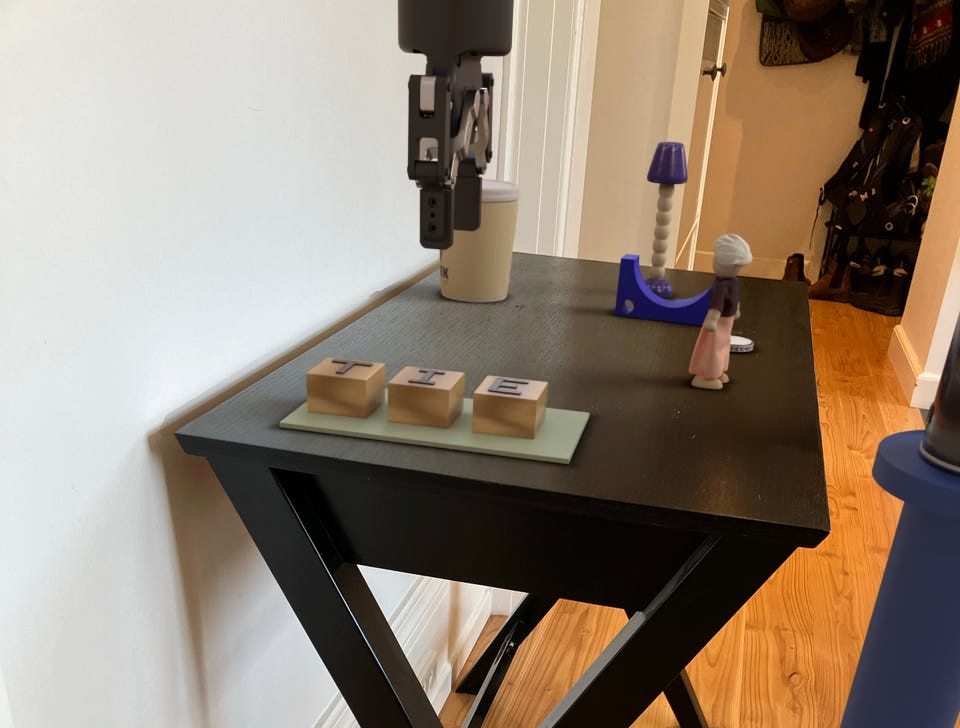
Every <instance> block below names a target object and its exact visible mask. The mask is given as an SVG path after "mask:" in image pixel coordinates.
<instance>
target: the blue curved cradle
mask: <svg viewBox="0 0 960 728" xmlns="http://www.w3.org/2000/svg"><path fill="white" fill-rule="evenodd" d="M640 256H641V255H640V254H631V253H625V254H624V255H623V256H622V257H620V261H619V262H620V263H619V271H618V280H617V289H616V297H615V306H614V307H615V308H614V315H615V316H620V317H630V318H638V319H645V320H653V321H654V320H655V321H661V322H662V321H663V322H670V323H678V324H685V325H695V326H701V327H702V326H703V323H704V321H705V318H706V316H707V314H708V309H709V301H710V293H711V289H712V286H713V285H714V283H715V282H716V280H717V278H718V276H717V275H716V274H715V278H714V280H713V283H712V285H711V286H710V287H709V288H707V289H706V290H704V291H703V292H701V293H700V294H698V295H696V296H693V297H690V298H689V297H688V298H684V299H683V298H682V299H678V298H676V299H675V300H674V301H671V300H667V299H666V298H660V297H659V296H657V295H656V294H654V293H653V292H652V291H651V290H650V289H649V288H648V286H647V285H646V283H645V282H644V280H645V279H644V278H643V275H642V272H641V266H640ZM626 301H630V302H631V303H632V306H633V308H631V307H629V306H628V305H627V304H626V303H627V302H626Z"/></svg>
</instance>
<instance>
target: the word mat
mask: <svg viewBox="0 0 960 728" xmlns="http://www.w3.org/2000/svg"><path fill="white" fill-rule="evenodd" d="M472 415H473V398H468V397H464V408H463V411H462V412H461V413H460V415H459V416H458V417H457V418H456V420H455V421H454V422H453V423H452V425H451V426H450V427H449V428H448V429H446V428H438V427H430V426H422V425H414V424H406V423H398V422H390V421H388V388H385V401H384V402H383V403H382V404H381V405H380V406H379V407H378V408H377V409H376V410H375V411H374V412H372V413H371V414H370V415H369V416H368V417H367V418H358V417H350V416H342V415H334V414H326V413H318V412H310V411H308V408H307V400H306V401H305V402H303V403H302V404H301V405H299V406H298V407H297V408H296V409H294V410H293V411H292V412H291V413H290V414H288V415H287V416H286V417H284V418H283V419H282V420H280V421H279V428H284V429H291V430H297V431H298V430H299V431H307V432H314V433H323V434H324V433H325V434H330V435H336V436H337V435H338V436H347V437H355V438H362V439H367V440H368V439H370V440H377V441H384V442H392V443H400V444H408V445H416V446H425V447H431V448H439V449H440V448H441V449H448V450H455V451H456V450H457V451H463V452H470V453H478V454H487V455H494V456H502V457H509V458H518V459H525V460H534V461H540V462H549V463H558V464H564V465H569V464H570V462H571V459H572V457H573V455H574V453H575V450H576V448H577V446H578V443H579V441H580V439H581V437H582V434H583V432H584V430H585V428H586V426H587V423H588V420H589V419H590V415H591V413H590V412H588V411H577V410H569V409H562V408H555V407H554V408H552V407H546V416H545V421H544V422H543V424H542V426H541V428H540V429H539V431H538V433H537V435H536V437H535V438H534V439H528V438H519V437H511V436H503V435H495V434H487V433H479V432H472Z"/></svg>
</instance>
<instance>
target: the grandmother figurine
mask: <svg viewBox="0 0 960 728" xmlns="http://www.w3.org/2000/svg"><path fill="white" fill-rule="evenodd" d="M712 251H713V258H712V264H711V265H712V270H713V272H714V274H715V276H716V275H717V276H718V278H717V280H716V282H715V283H714V282H713V283H714V285H713V284H712V285H713V286H712V285H711V286H712V289H711V293H710V301H709V309H708V314H707V316H706V318H705V321H704V323H703V326H702V325H701V329H700V332H699V335H698V337H697V340H696V343H695V345H694V347H693V348H694V349H693V352H692V355H691V359H690V363H689V366H688V374H691V375H695V376H694V377H693V379H692V381H691V383H690V384H691V385H692V386H693V387H696V388H701V389H709V390H721V389H722V388H723V384H725V383H729V381H730V379H729V376H728V375H727V374H726V373H725V372H727V371H728V369H729V362H730V352H731V351H730V343H731V336H732V330H733V329H732V328H733V325H734V321H736V320H738V319H739V318H740V317H741V311H740V301H741V298H740V294H741V293H740V292H741V286H740V285H741V284H740V280H739V278H737V277H738V275H739V274H740V273H741V272H742V270H743V268H744V267H747V266H748V265H750V264H751V263H752V261H753V254H752V253H751V247H750V245H749V244H748V242H746V241H745V240H744V238H742V237H741V236H739V235H737V234H735V233H728V234H723V235H721V236H720V237H719V238H718V239H716V240H715V242H714V244H713V247H712Z"/></svg>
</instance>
